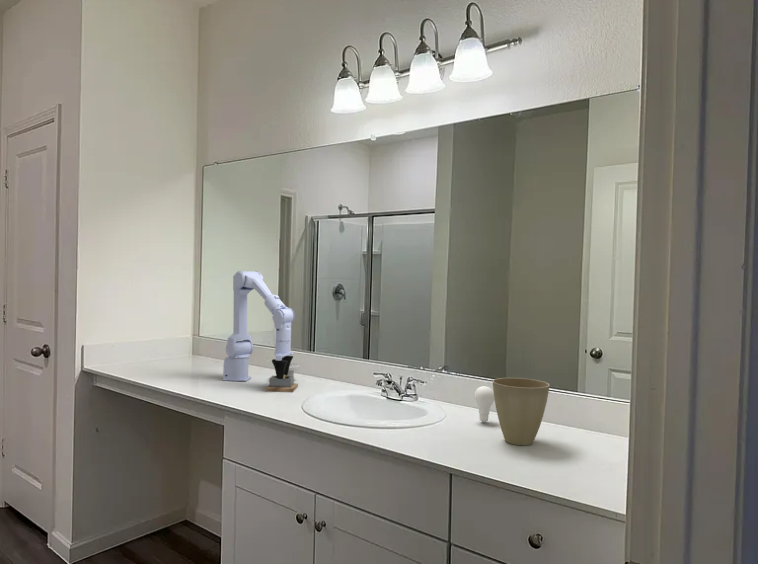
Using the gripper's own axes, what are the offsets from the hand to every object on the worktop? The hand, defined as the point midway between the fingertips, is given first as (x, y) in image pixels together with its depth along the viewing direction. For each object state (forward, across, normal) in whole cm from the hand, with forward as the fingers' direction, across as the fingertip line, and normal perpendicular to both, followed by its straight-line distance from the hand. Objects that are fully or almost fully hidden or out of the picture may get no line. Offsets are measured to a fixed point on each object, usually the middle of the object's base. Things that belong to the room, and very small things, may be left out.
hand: (282, 376), depth 209 cm
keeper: (+4, 0, 0) cm, 4 cm away
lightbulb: (+5, -37, -70) cm, 79 cm away
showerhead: (+5, +15, +1) cm, 16 cm away
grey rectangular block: (+3, 0, 0) cm, 3 cm away
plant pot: (+5, -55, -77) cm, 95 cm away
